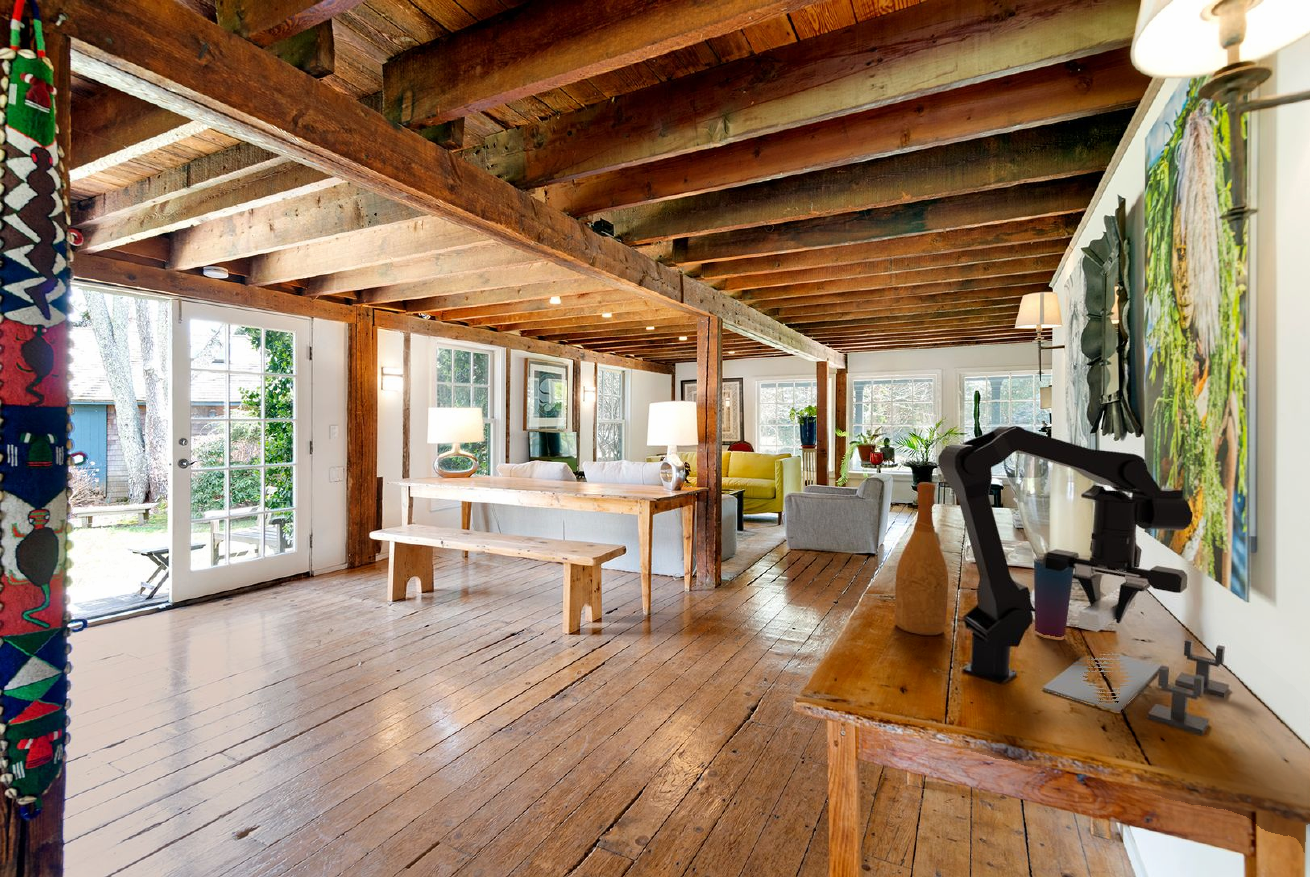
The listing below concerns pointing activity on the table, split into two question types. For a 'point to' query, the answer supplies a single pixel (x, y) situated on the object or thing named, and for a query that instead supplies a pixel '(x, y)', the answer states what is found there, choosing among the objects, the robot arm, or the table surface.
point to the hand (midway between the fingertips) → (1108, 620)
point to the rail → (1101, 612)
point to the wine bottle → (922, 574)
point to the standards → (1189, 691)
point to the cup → (1051, 598)
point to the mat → (1080, 690)
